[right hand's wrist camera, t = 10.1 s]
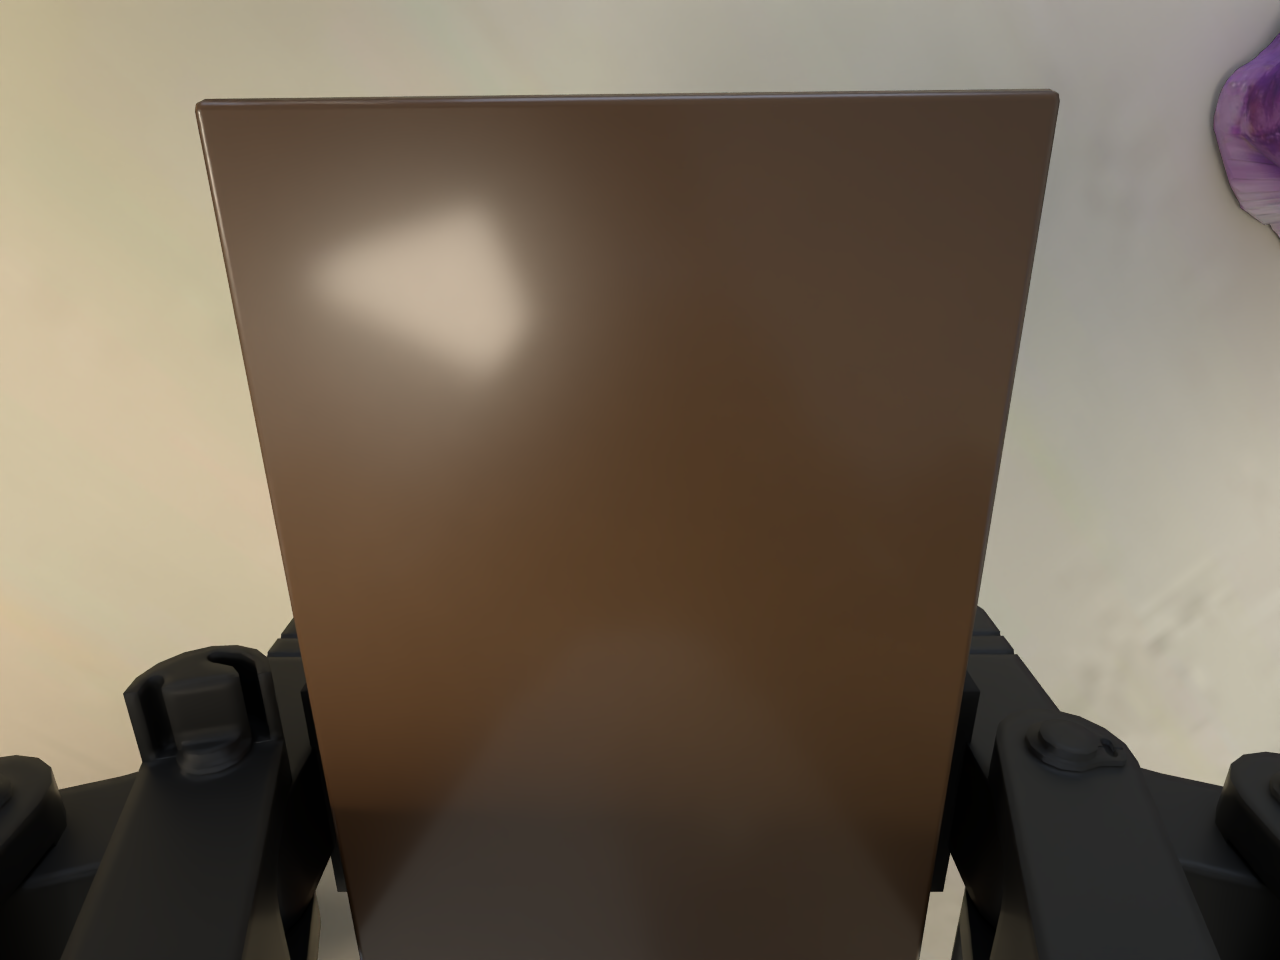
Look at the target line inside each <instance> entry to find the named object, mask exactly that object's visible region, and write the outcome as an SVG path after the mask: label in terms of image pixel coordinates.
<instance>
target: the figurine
mask: <svg viewBox="0 0 1280 960" xmlns="http://www.w3.org/2000/svg"><path fill="white" fill-rule="evenodd" d="M1213 130H1214V132H1215V134H1216V138H1217V143H1218V146H1219V150H1220V153H1221V157H1222V160H1223V164H1224V167H1225V170H1226V174H1227V177H1228V180H1229V184H1230V186H1231V188H1232V190H1233V192H1234V194H1235V196H1236V197H1237V199H1238V201H1239V203H1240V208H1242V209H1243V210H1245V211H1246V212H1247V213H1249V214H1250V215H1252V216H1253V217H1254V218H1256V219H1257V220H1258V221H1260V222H1261V223H1263V224H1264V225H1265V224H1270V225H1271V227H1272V230H1273V231H1275V232H1276V233H1277V235H1278V236H1279V237H1280V33H1279V34H1278V35H1277V36H1276V38H1275V39H1274V40H1273V41H1272V43H1271V44H1270V45H1269V46H1268V47H1267V48H1265V49H1264V50H1263V51H1262V52H1260V53H1259V55H1258V56H1257V57H1256V58H1255V59H1253V60H1252V61H1250V62H1249V63H1247V64H1245V65H1244V66H1242V67H1240V68H1238V69H1237V70H1236V71H1235V72H1234V73H1233V74H1232V75H1231V76H1230V77H1229V79H1228V80H1227V81H1226V83H1225V85H1224V86H1223V88H1222V91H1221V93H1220V95H1219V99H1218V103H1217V107H1216V111H1215V114H1214V126H1213Z"/></svg>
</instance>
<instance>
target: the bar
mask: <svg viewBox="0 0 1280 960" xmlns="http://www.w3.org/2000/svg"><path fill="white" fill-rule="evenodd" d="M1059 102H1060V100H1059V94H1058V93H1057V92H1055V91H1053V90H1051V89H1000V90H917V91H834V92H750V93H667V94H584V95H501V96H417V97H334V98H251V99H204V100H202V101H200V102H198V103H197V104H196V109H195V113H196V119H197V124H198V129H199V134H200V139H201V144H202V149H203V154H204V160H205V165H206V170H207V175H208V180H209V185H210V190H211V195H212V201H213V206H214V211H215V216H216V221H217V226H218V231H219V237H220V242H221V247H222V252H223V257H224V262H225V267H226V272H227V278H228V283H229V288H230V293H231V298H232V303H233V308H234V314H235V319H236V324H237V329H238V334H239V339H240V344H241V349H242V355H243V360H244V365H245V370H246V375H247V380H248V385H249V391H250V396H251V401H252V406H253V411H254V416H255V421H256V426H257V432H258V437H259V442H260V447H261V452H262V457H263V462H264V468H265V473H266V478H267V483H268V488H269V493H270V498H271V503H272V509H273V514H274V519H275V524H276V529H277V534H278V539H279V545H280V550H281V555H282V560H283V565H284V570H285V575H286V580H287V586H288V591H289V596H290V601H291V606H292V611H293V616H294V622H295V627H296V632H297V637H298V642H299V647H300V652H301V657H302V663H303V668H304V673H305V678H306V683H307V688H308V693H309V699H310V704H311V709H312V714H313V719H314V724H315V729H316V734H317V740H318V745H319V750H320V755H321V760H322V765H323V770H324V775H325V781H326V786H327V791H328V796H329V801H330V806H331V811H332V817H333V822H334V827H335V832H336V837H337V842H338V847H339V852H340V858H341V863H342V868H343V873H344V878H345V883H346V888H347V894H348V899H349V904H350V909H351V914H352V919H353V924H354V929H355V935H356V940H357V945H358V950H359V955H360V960H919V957H920V951H921V945H922V939H923V933H924V927H925V920H926V914H927V908H928V902H929V896H930V890H931V884H932V878H933V872H934V866H935V859H936V853H937V847H938V841H939V835H940V829H941V823H942V817H943V811H944V804H945V798H946V792H947V786H948V780H949V774H950V768H951V762H952V756H953V750H954V743H955V737H956V731H957V725H958V719H959V713H960V707H961V701H962V695H963V689H964V682H965V676H966V670H967V664H968V658H969V652H970V646H971V640H972V634H973V627H974V621H975V615H976V609H977V603H978V597H979V591H980V585H981V579H982V573H983V566H984V560H985V554H986V548H987V542H988V536H989V530H990V524H991V518H992V511H993V505H994V499H995V493H996V487H997V481H998V475H999V469H1000V463H1001V457H1002V450H1003V444H1004V438H1005V432H1006V426H1007V420H1008V414H1009V408H1010V402H1011V396H1012V389H1013V383H1014V377H1015V371H1016V365H1017V359H1018V353H1019V347H1020V341H1021V334H1022V328H1023V322H1024V316H1025V310H1026V304H1027V298H1028V292H1029V286H1030V280H1031V273H1032V267H1033V261H1034V255H1035V249H1036V243H1037V237H1038V231H1039V225H1040V218H1041V212H1042V206H1043V200H1044V194H1045V188H1046V182H1047V176H1048V170H1049V164H1050V157H1051V151H1052V145H1053V139H1054V133H1055V127H1056V121H1057V115H1058V109H1059Z"/></svg>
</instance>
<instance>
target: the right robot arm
mask: <svg viewBox="0 0 1280 960" xmlns="http://www.w3.org/2000/svg"><path fill="white" fill-rule="evenodd" d="M123 695H124V699H125V702H126V706H127V709H128V713H129V716H130V720H131V723H132V727H133V730H134V734H135V737H136V741H137V744H138V748H139V751H140V755H141V758H142V765H141V767H140V769H139V772H135V773H132V774H128V775H125V776H121V777H116V778H112V779H107V780H102V781H98V782H93V783H88V784H83V785H79V786H74V787H69V788H65V789H60V790H58V787H57V784H56V781H55V778H54V775H53V772H52V769H51V767H50V766H48V765H47V764H46V763H44V762H43V761H42V760H40V759H39V758H34V757H27V756H19V755H14V756H6V757H0V960H317V958H318V948H319V937H320V927H321V920H320V913H319V907H318V902H317V897H316V892H315V890H316V888H317V886H318V883H319V881H320V879H321V876H322V874H323V872H324V870H325V867H326V865H327V863H328V861H329V858H330V856H331V859H332V864H333V870H334V875H335V880H336V886H337V891H338V892H347V888H346V883H345V878H344V873H343V868H342V863H341V858H340V852H339V847H338V842H337V837H336V832H335V827H334V822H333V817H332V811H331V806H330V801H329V796H328V791H327V786H326V781H325V775H324V770H323V765H322V760H321V755H320V750H319V745H318V740H317V734H316V729H315V724H314V719H313V714H312V709H311V704H310V699H309V693H308V688H307V683H306V678H305V673H304V668H303V663H302V657H301V652H300V647H299V642H298V637H297V632H296V627H295V622H294V618H293V619H292V620H291V622H290V623H289V624H288V626H287V627H286V628H285V630H284V631H283V632H282V634H281V639H277V640H276V642H275V643H274V644H273V646H272V647H271V648H270V650H269V651H268V655H267V657H266V656H265V655H263V654H262V653H261V652H260V651H258V650H257V649H252V648H248V647H243V646H239V645H229V646H211V647H206V648H202V649H197V650H193V651H189V652H184V653H182V654H180V655H177V656H175V657H172V658H170V659H167V660H165V661H163V662H160V663H158V664H156V665H155V666H153V667H152V668H150V669H149V670H147V671H146V672H144V673H143V674H141V675H140V676H138V677H137V678H136V679H135V680H134V681H133V682H132V684H131V685H130V686H129V687H128V688H127V690H126V691H125V692H124V693H123ZM950 853H951V855H952V857H953V860H954V862H955V864H956V866H957V869H958V871H959V873H960V875H961V878H962V880H963V882H964V884H965V892H964V897H963V902H962V907H961V912H960V917H959V922H958V927H957V932H956V937H955V942H954V947H953V952H952V957H951V960H1280V754H1278V753H1271V752H1260V753H1252V754H1245V755H1242V756H1241V757H1240V758H1238V759H1237V760H1236V761H1234V762H1233V763H1232V764H1231V765H1230V768H1229V771H1228V774H1227V777H1226V780H1225V783H1224V786H1218V785H1213V784H1209V783H1204V782H1199V781H1194V780H1190V779H1185V778H1180V777H1176V776H1171V775H1166V774H1161V773H1158V772H1154V771H1150V770H1147V769H1143V768H1140V766H1139V763H1138V761H1137V760H1136V758H1135V757H1134V755H1133V754H1132V752H1131V751H1130V750H1129V748H1128V747H1127V745H1126V744H1125V743H1124V742H1122V741H1121V740H1120V739H1118V738H1117V737H1116V736H1114V735H1113V734H1112V733H1110V732H1109V731H1108V730H1107V729H1105V728H1103V727H1101V726H1099V725H1097V724H1095V723H1093V722H1090V721H1088V720H1086V719H1084V718H1082V717H1080V716H1076V715H1072V714H1068V713H1064V712H1061V711H1059V709H1058V708H1057V707H1056V705H1055V704H1054V703H1053V701H1052V700H1051V699H1050V697H1049V696H1048V695H1047V693H1046V692H1045V691H1044V689H1043V688H1042V687H1041V685H1040V684H1039V683H1038V681H1037V680H1036V679H1035V677H1034V676H1033V675H1032V673H1031V672H1030V671H1029V669H1028V668H1027V667H1026V665H1025V664H1024V663H1023V661H1022V660H1021V659H1020V657H1019V656H1018V655H1017V654H1014V649H1013V648H1012V647H1011V645H1010V644H1009V643H1008V641H1007V640H1006V639H1005V637H1004V636H1000V631H999V629H998V628H997V627H996V625H995V624H994V623H993V621H992V620H991V619H990V618H989V616H988V615H987V614H986V612H985V611H984V610H983V609H982V608H980V607H979V606H977V609H976V615H975V621H974V627H973V634H972V640H971V646H970V652H969V658H968V664H967V670H966V676H965V682H964V689H963V695H962V701H961V707H960V713H959V719H958V725H957V731H956V737H955V743H954V750H953V756H952V762H951V768H950V774H949V780H948V786H947V792H946V798H945V804H944V811H943V817H942V823H941V829H940V835H939V841H938V847H937V853H936V859H935V866H934V872H933V878H932V884H931V890H930V892H943V889H944V884H945V878H946V873H947V868H948V862H949V857H950Z"/></svg>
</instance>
